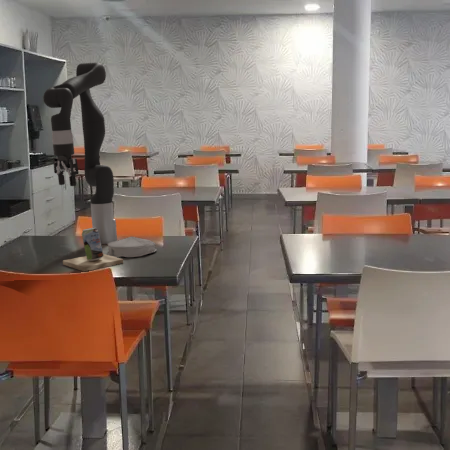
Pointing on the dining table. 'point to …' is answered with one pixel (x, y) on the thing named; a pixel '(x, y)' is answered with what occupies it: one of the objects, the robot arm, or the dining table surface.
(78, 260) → the coaster board
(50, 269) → the dining table surface
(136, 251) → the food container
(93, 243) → the beverage can
